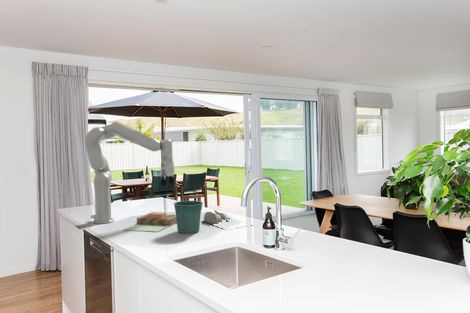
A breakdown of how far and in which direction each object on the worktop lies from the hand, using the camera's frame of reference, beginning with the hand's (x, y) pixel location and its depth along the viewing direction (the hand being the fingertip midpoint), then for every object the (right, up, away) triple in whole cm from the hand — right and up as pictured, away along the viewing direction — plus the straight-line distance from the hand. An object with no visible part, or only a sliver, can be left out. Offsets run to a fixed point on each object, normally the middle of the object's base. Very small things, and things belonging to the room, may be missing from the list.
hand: (167, 184), depth 250 cm
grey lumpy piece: (+38, -23, -15) cm, 47 cm away
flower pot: (+18, -24, -35) cm, 46 cm away
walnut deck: (-4, -23, -12) cm, 26 cm away
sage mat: (-8, -24, -27) cm, 36 cm away
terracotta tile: (-4, -19, -13) cm, 24 cm away
